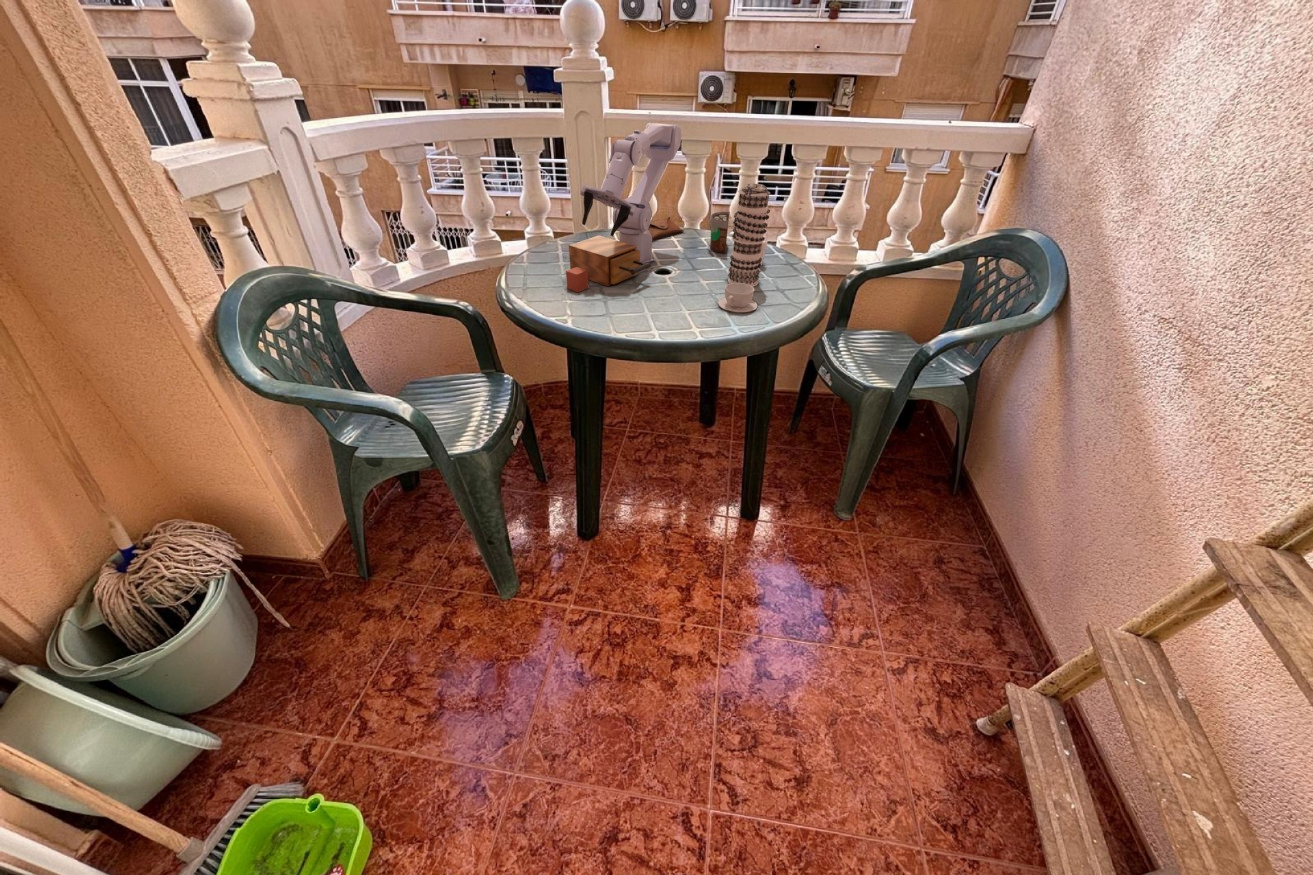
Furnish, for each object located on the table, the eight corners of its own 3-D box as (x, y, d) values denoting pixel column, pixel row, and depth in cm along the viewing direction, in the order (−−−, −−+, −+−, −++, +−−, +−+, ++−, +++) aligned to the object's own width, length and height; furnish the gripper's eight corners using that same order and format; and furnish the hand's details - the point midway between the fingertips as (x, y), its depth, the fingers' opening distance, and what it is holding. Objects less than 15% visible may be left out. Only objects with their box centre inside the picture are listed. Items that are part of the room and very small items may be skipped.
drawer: (655, 278, 148) (655, 255, 144) (629, 289, 141) (629, 265, 137) (604, 262, 157) (604, 240, 153) (578, 272, 150) (577, 249, 146)
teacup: (729, 295, 141) (731, 278, 139) (763, 304, 137) (766, 287, 134) (710, 307, 135) (712, 289, 132) (745, 317, 130) (748, 299, 128)
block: (577, 284, 145) (576, 266, 142) (588, 288, 143) (587, 270, 140) (567, 288, 142) (565, 270, 139) (577, 292, 140) (576, 274, 137)
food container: (707, 241, 178) (710, 210, 172) (726, 242, 177) (729, 211, 171) (705, 253, 168) (708, 220, 162) (725, 254, 167) (728, 221, 161)
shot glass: (737, 261, 163) (740, 237, 159) (756, 258, 165) (759, 235, 161) (749, 268, 158) (752, 244, 154) (768, 266, 160) (772, 242, 156)
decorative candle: (765, 286, 147) (780, 189, 132) (734, 289, 145) (746, 190, 130) (751, 274, 154) (764, 181, 139) (721, 277, 152) (731, 182, 137)
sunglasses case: (649, 241, 175) (642, 220, 173) (636, 247, 180) (630, 228, 178) (686, 230, 185) (679, 211, 184) (672, 237, 191) (666, 218, 189)
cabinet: (636, 274, 152) (636, 246, 147) (607, 286, 144) (607, 256, 139) (599, 262, 159) (598, 235, 154) (570, 273, 151) (568, 245, 146)
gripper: (589, 162, 133) (571, 209, 132) (643, 185, 135) (626, 232, 133) (587, 178, 140) (570, 223, 138) (639, 199, 142) (623, 244, 140)
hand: (597, 228), depth 136 cm, fingers open, 7 cm apart
